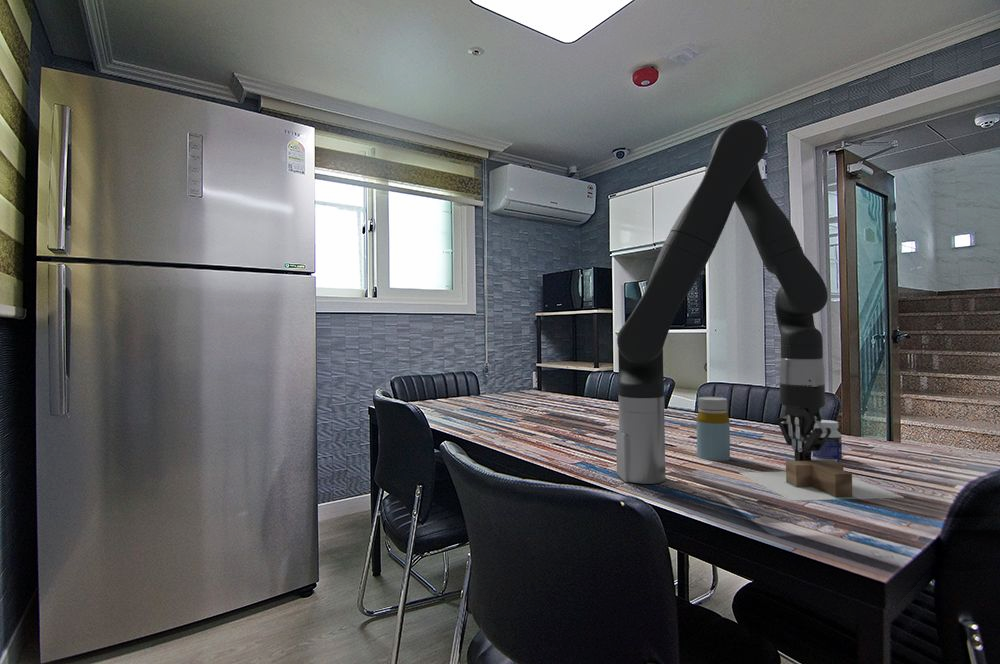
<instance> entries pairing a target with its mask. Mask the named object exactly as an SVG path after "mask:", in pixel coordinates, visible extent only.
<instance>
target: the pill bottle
mask: <svg viewBox="0 0 1000 664" xmlns="http://www.w3.org/2000/svg"><path fill="white" fill-rule="evenodd" d="M821 423H822V425H823V426H824V427H825V428H830V430H831V434H830V435H829V437H828V438H827V440H826V441H825V443H824V444H823V446H822V448H821V449H820V451H813V452H812V453H811V459H813V460H814V461H817V460H833V461H836V462H838V463H841V462H842V461H843V447H842V443H843V441H842V439H843V438H842V434H841V432H839V430H838V429H839V427H840V426H839V425H840V424H839V423H840V422H839V421H837V420H836V421H835V420H830V419H828V420H827V419H821Z"/></svg>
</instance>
